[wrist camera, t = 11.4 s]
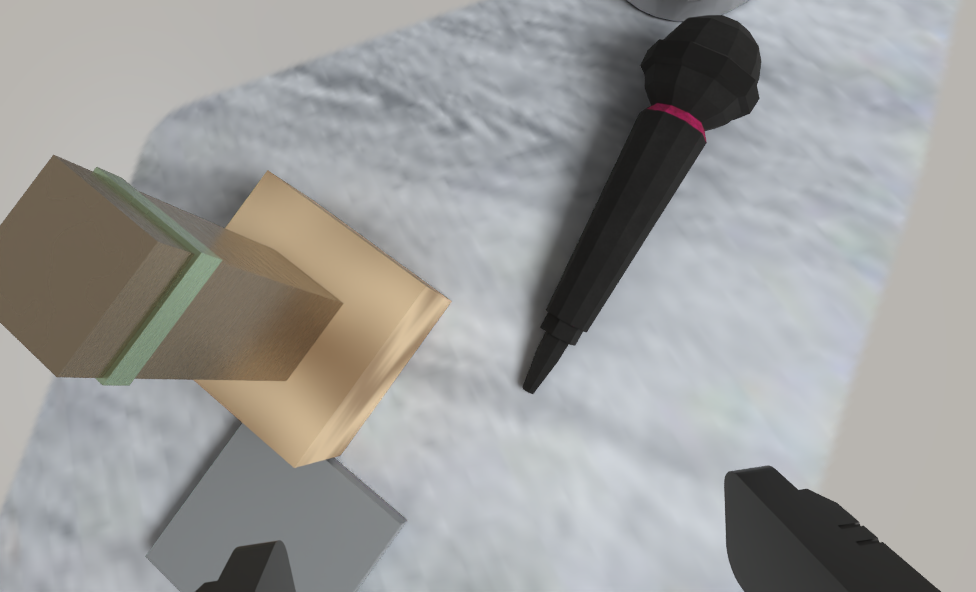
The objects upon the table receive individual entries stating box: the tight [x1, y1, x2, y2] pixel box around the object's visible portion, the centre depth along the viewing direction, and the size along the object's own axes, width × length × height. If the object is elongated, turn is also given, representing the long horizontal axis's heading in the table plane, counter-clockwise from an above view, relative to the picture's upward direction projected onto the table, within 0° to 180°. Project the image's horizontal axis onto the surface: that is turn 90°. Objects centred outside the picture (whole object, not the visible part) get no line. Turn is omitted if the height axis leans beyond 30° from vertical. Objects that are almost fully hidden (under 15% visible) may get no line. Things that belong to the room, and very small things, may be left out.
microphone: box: [523, 15, 761, 394], centre depth 29 cm, size 6×6×20 cm
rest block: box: [194, 170, 452, 468], centre depth 30 cm, size 10×10×5 cm
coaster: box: [145, 423, 407, 592], centre depth 31 cm, size 10×10×1 cm
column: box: [0, 155, 344, 385], centre depth 22 cm, size 5×5×12 cm
